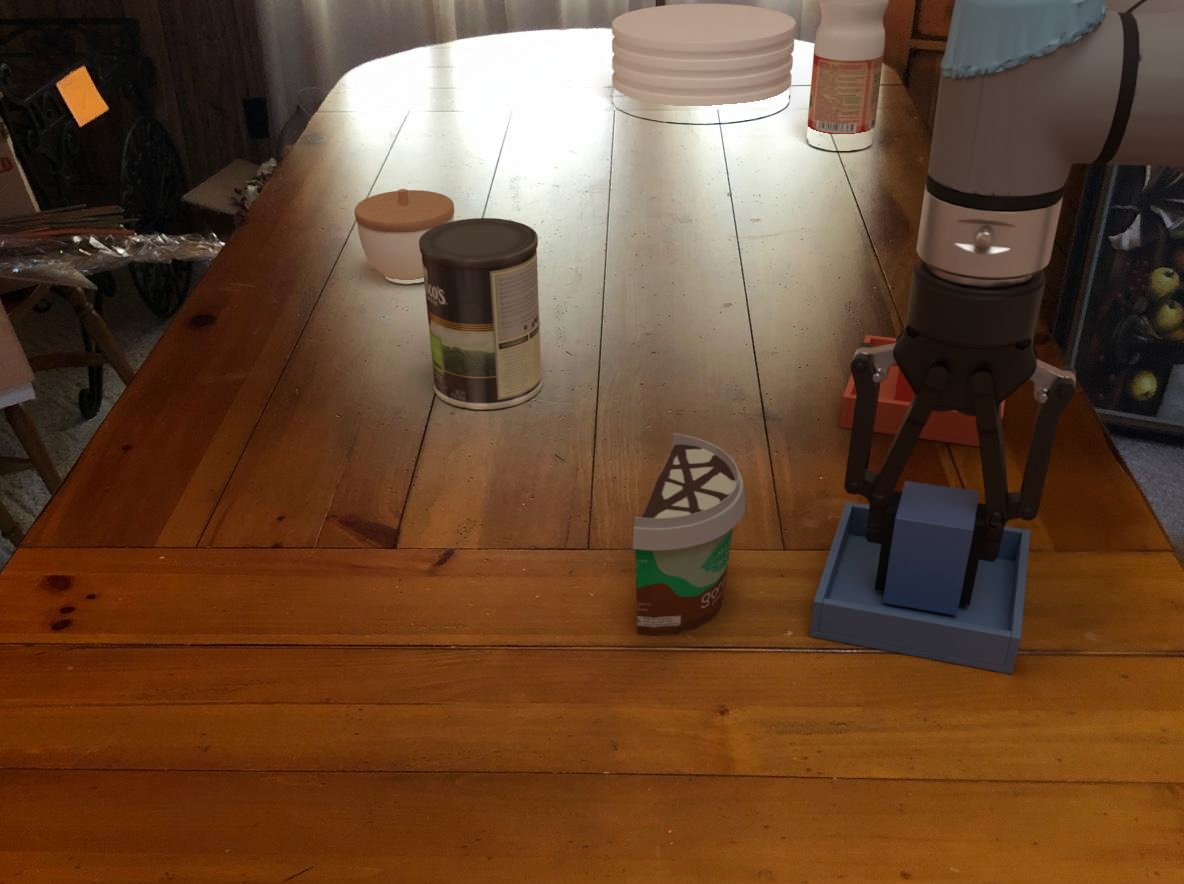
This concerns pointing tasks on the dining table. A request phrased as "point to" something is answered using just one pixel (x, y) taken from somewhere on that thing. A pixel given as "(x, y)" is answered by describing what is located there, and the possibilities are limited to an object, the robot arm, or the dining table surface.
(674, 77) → the plate stack
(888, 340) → the red tray
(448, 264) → the coffee can
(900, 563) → the blue block
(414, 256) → the trinket box
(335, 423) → the dining table surface
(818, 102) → the fruit juice
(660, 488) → the food container
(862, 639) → the blue tray
